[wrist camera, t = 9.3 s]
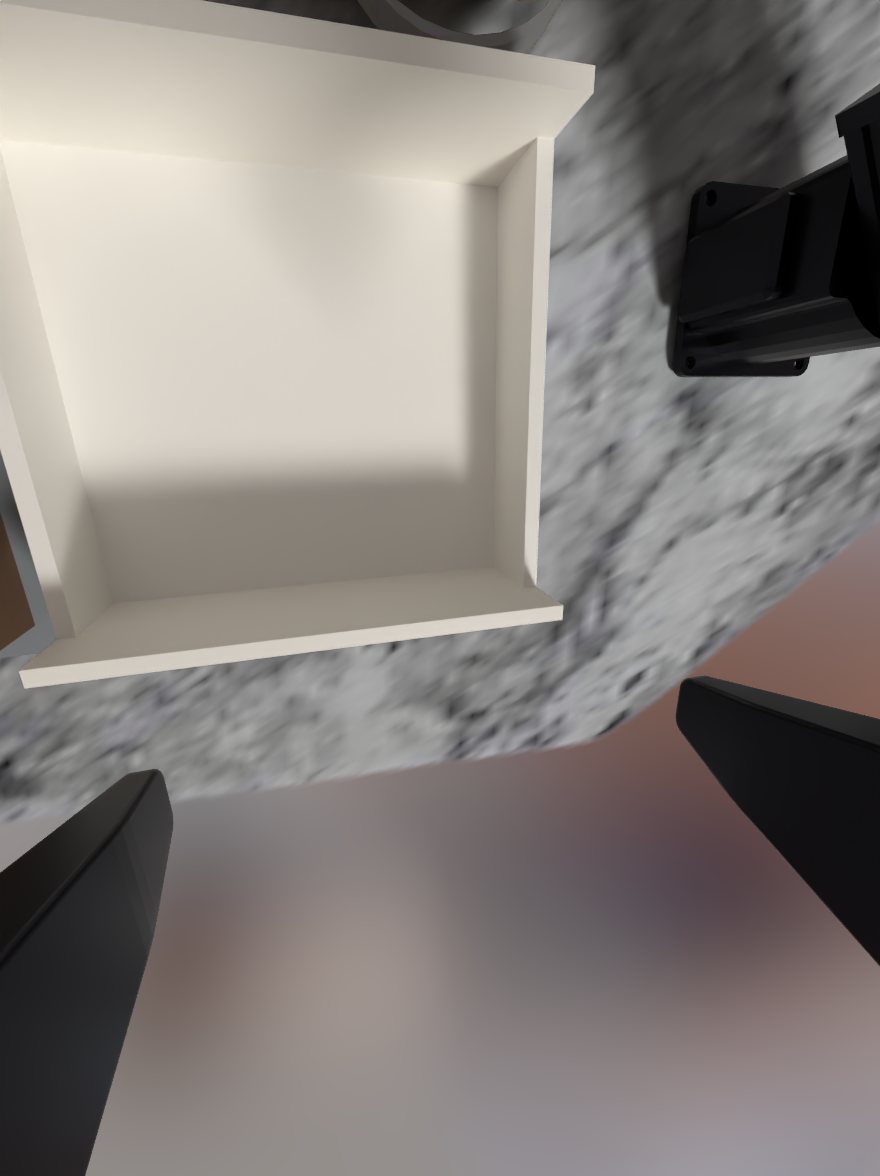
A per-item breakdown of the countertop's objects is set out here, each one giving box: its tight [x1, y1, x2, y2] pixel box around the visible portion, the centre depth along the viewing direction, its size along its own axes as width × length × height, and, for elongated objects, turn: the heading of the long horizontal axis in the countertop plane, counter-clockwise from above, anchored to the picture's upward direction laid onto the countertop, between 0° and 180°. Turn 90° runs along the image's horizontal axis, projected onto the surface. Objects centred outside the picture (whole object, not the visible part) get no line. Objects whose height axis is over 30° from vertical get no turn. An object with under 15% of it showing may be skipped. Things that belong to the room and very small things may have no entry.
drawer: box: [0, 0, 595, 688], centre depth 14 cm, size 15×14×6 cm
